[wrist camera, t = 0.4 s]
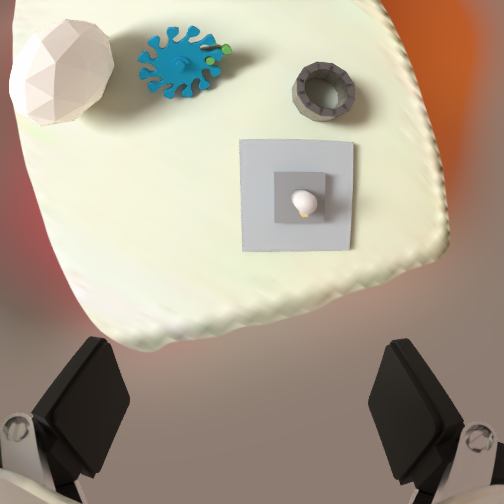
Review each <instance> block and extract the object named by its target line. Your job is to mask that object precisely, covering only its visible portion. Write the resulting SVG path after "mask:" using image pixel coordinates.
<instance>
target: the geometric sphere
mask: <svg viewBox="0 0 504 504" xmlns="http://www.w3.org/2000/svg"><path fill="white" fill-rule="evenodd" d="M113 68H114V61H113V57H112V52H111V48H110V43H109V38H108V36H107V35H106V34H105V33H104V32H103V31H102V30H101V29H100V28H99V27H98V26H97V25H96V24H93V23H89V22H86V21H79V20H67V19H66V20H63V21H61V22H58V23H56V24H53V25H51V26H48V27H46V28H44V29H41V30H39V31H37V32H35V33H34V34H33V35H32V37H31V38H30V39H29V41H28V42H27V43H26V45H25V46H24V47H23V49H22V50H21V51H20V53H19V54H18V56H17V57H16V59H15V60H14V63H13V67H12V71H11V77H10V81H9V90H10V96H11V99H12V101H13V104H14V106H15V109H16V111H17V112H18V113H20V114H22V115H23V116H25V117H27V118H28V119H30V120H32V121H33V122H35V123H37V124H38V125H40V126H46V125H52V124H57V123H63V122H70V121H74V120H75V119H77V118H78V117H79V116H80V115H81V114H82V113H83V112H85V111H86V110H87V109H88V108H89V107H91V106H92V105H93V104H94V103H96V102H97V101H98V100H99V99H101V98H102V95H103V93H104V90H105V87H106V85H107V83H108V80H109V78H110V75H111V73H112V71H113Z"/></svg>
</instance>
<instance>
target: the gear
mask: <svg viewBox="0 0 504 504" xmlns="http://www.w3.org/2000/svg"><path fill="white" fill-rule="evenodd" d="M178 33H179V28H178V27H169V28H168V29H167V35H168V37H169V42H168V45H167V46H166V47H165V48H160V47H159V42H160V37H159V36H154V37H152V38H151V39H149V40H148V44H149V45H150V46H151V47H153V48H154V49H155V50H156V51H157V54H158V57H157V58H156V59H152V58H150V55H149V53H148V52H147V51H143V52H142V53H141V54H140V56H139V58H138V61H139V62H141V63H150V64H152V65H153V66H155V67H156V70H155V71H150V70H148V69H147V68H141V69H140V73H139V77H140V79H146V78H148V77H152V76H156V77H161V78H162V80H161V81H158V82H157V81H151V82H149V83H148V88H149V90H150V91H151V92H152V93H153V92H156V91H157V90H158V88H159V87H161V86H162V85H164V84H168V83H172V84H173V86H172V87H170V88H166V89H165V90H164V96H165V97H167V98H169V99H171V98H173V96H174V92H175V90H176V88H177V87H178V86H180V85H181V84H187V86H186V87H185V88H184V89H183V90H182V96H183V97H192V95H193V92H192V89H191V84H192V81H193V80H194V79H195V78H199V79H200V81H199V88H200V89H201V90H204V89H206V88H208V87H210V84H209V81H208V80H206V79H205V78H204V77H203V75H202V70H203V69H205V68H208V69H209V70H210V73H211V75H212V76H213V77H216V76H217V75H218V74H219V73H220V72H221V69H220V67H219V66H215V65H212V64H214V62H215V60H217V61H219V60H221V59H222V55H223V53H224V54H230V53H231V52H232V49H231V48H230V46H229V45H228V44H224V45H222V47H221V46H220V45H217V44H216V42H215V39H214V37H213V36H212V34H209V35H207V36H206V37H205V38H203V39H202V40H200V41H198V42H194V43H190V42H188V39H189V38H190V37H194V36H197V35H199V33H200V30H199V29H198V28H197V27H195V26H190V27H189V28H188V32H187V34H186V36H185V37H184V38H183V39H182V40H181V41H179V42H174V41H173V38H174V37H175V36H176V35H177V34H178ZM204 44H205V45H209V46H208V47H203V48H200V46H201V45H204ZM214 59H215V60H214Z"/></svg>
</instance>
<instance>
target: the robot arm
mask: <svg viewBox="0 0 504 504" xmlns="http://www.w3.org/2000/svg"><path fill="white" fill-rule="evenodd" d="M129 403H130V396H129V394H128V391H127V388H126V386H125V383H124V381H123V378H122V376H121V373H120V370H119V367H118V364H117V361H116V359H115V356H114V353H113V350H112V347H111V345H110V344H109V343H108V342H107V340H106V339H104V338H98V337H92V336H91V337H89V338H88V339H87V340H86V341H85V342H84V344H83V345H82V346H81V347H80V349H79V350H78V351H77V352H76V354H75V355H74V356H73V357H72V359H71V360H70V361H69V362H68V364H67V365H66V366H65V367H64V369H63V370H62V372H61V373H60V374H59V375H58V376H57V378H56V379H55V380H54V382H53V383H52V384H51V386H50V387H49V388H48V390H47V391H46V393H45V394H44V395H43V397H42V398H41V399H40V401H39V402H38V404H37V405H36V406H35V408H34V409H33V411H32V412H31V413H32V414H33V416H34V417H33V418H32V419H31V418H30V417H29V416H28V415H26V414H23V413H14V414H11V415H9V416H8V417H7V418H6V419H5V420H4V421H3V422H2V425H1V428H0V504H88V502H87V500H86V498H85V496H84V493H83V490H82V488H81V485H80V482H79V480H78V477H79V474H80V473H81V474H83V475H85V476H88V477H91V478H94V476H95V474H96V473H98V472H100V470H101V468H102V466H103V463H104V461H105V458H106V456H107V453H108V451H109V449H110V447H111V444H112V442H113V440H114V437H115V435H116V433H117V430H118V428H119V426H120V423H121V421H122V419H123V417H124V415H125V413H126V410H127V408H128V406H129ZM368 405H369V409H370V412H371V414H372V417H373V419H374V422H375V425H376V428H377V430H378V433H379V436H380V439H381V441H382V444H383V447H384V450H385V453H386V456H387V458H388V461H389V464H390V467H391V470H392V473H393V476H394V478H395V479H396V480H398V479H399V482H400V485H404V484H407V483H410V482H414V484H415V487H416V488H415V491H414V493H413V495H412V497H411V499H410V501H409V503H408V504H504V444H503V443H500V442H498V440H497V434H496V432H495V430H494V429H493V427H492V426H490V425H489V424H487V423H485V422H483V421H474V422H471V423H469V424H467V425H466V426H465V425H464V423H463V421H464V420H463V418H462V417H461V415H460V414H459V412H458V410H457V409H456V407H455V406H454V404H453V402H452V401H451V399H450V398H449V396H448V395H447V394H446V392H445V390H444V389H443V387H442V386H441V384H440V383H439V381H438V380H437V378H436V377H435V375H434V374H433V373H432V371H431V369H430V368H429V366H428V365H427V364H426V362H425V361H424V359H423V358H422V356H421V355H420V354H419V352H418V351H417V349H416V348H415V347H414V345H413V344H412V343H411V341H410V340H409V339H407V338H405V339H398V340H393V341H392V342H390V345H387V346H386V348H385V352H384V355H383V358H382V361H381V364H380V368H379V371H378V374H377V377H376V380H375V382H374V385H373V388H372V391H371V394H370V396H369V400H368Z"/></svg>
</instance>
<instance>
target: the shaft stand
mask: <svg viewBox="0 0 504 504" xmlns="http://www.w3.org/2000/svg"><path fill="white" fill-rule="evenodd" d="M239 147H240V186H241V220H242V250H243V252H265V251H332V250H349V247H350V234H351V219H352V198H353V142H341V141H325V140H301V139H246V140H239Z"/></svg>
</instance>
